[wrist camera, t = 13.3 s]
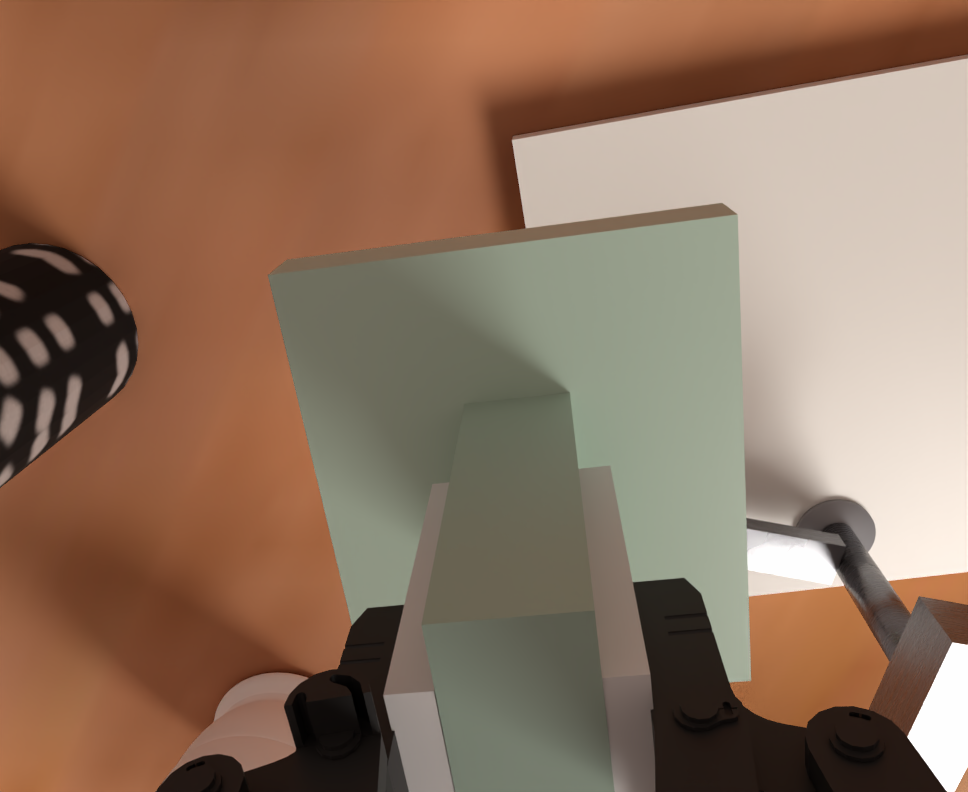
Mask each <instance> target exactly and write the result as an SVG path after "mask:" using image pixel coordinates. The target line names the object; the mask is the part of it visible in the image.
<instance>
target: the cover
mask: <svg viewBox="0 0 968 792" xmlns="http://www.w3.org/2000/svg"><path fill="white" fill-rule="evenodd" d="M268 277H269V282H270V286H271V290H272V294H273V298H274V302H275V307H276V311H277V315H278V319H279V323H280V327H281V332H282V336H283V340H284V344H285V348H286V352H287V357H288V361H289V365H290V369H291V373H292V377H293V382H294V386H295V390H296V394H297V398H298V402H299V406H300V411H301V415H302V419H303V423H304V427H305V431H306V436H307V440H308V444H309V448H310V452H311V456H312V461H313V465H314V469H315V473H316V477H317V481H318V486H319V490H320V494H321V498H322V502H323V506H324V511H325V515H326V519H327V523H328V527H329V531H330V535H331V540H332V544H333V548H334V552H335V556H336V560H337V565H338V569H339V573H340V577H341V581H342V585H343V590H344V594H345V598H346V602H347V606H348V610H349V615H350V619H351V623H352V625H353V624H354V622H355V621H356V620H357V619H358V618H359V617H360V616H361V615H362V613H363V612H364V611H365V610H366V609H367V608H373V607H384V606H395V605H404V604H405V600H406V595H407V591H408V587H409V582H410V578H411V574H412V570H413V565H414V561H415V557H416V552H417V548H418V544H419V540H420V535H421V531H422V527H423V522H424V518H425V514H426V510H427V505H428V501H429V497H430V492H431V488H432V484H438V483H447V482H449V486H448V491H447V496H446V501H445V506H444V512H443V517H442V522H441V527H440V532H439V537H438V542H437V547H436V553H435V558H434V563H433V568H432V573H431V578H430V583H429V588H428V594H427V599H426V604H425V609H424V614H423V619H422V624H421V625H422V630H423V635H424V640H425V645H426V650H427V655H428V660H429V665H430V670H431V675H432V680H433V685H434V689H435V694H436V699H437V704H438V709H439V714H440V719H441V724H442V729H443V734H444V739H445V744H446V748H447V753H448V758H449V763H450V768H451V773H452V778H453V783H454V788H455V792H615V791H614V782H613V773H612V764H611V755H610V746H609V736H608V727H607V718H606V709H605V700H604V691H603V682H602V673H601V664H600V655H599V646H598V637H597V627H596V618H595V609H594V601H593V592H592V583H591V574H590V565H589V557H588V548H587V539H586V530H585V521H584V513H583V504H582V495H581V486H580V478H579V469H581V468H591V467H601V466H610V467H611V472H612V477H613V482H614V488H615V493H616V498H617V503H618V508H619V514H620V519H621V524H622V529H623V534H624V540H625V545H626V550H627V555H628V561H629V566H630V571H631V576H632V581H633V582H641V581H652V580H664V579H675V578H685V579H686V580H687V581H688V582H689V583H690V584H692V585H693V586H694V587H695V588H696V589H697V590H698V591H699V592H700V593H701V595H702V598H703V601H704V604H705V608H706V611H707V616H708V617H709V620H710V623H711V627H712V632H713V633H714V636H715V639H716V642H717V646H718V649H719V652H720V655H721V658H722V661H723V665H724V668H725V671H726V674H727V677H728V680H729V682H740V681H751V664H750V629H749V594H748V558H747V523H746V488H745V453H744V417H743V382H742V347H741V312H740V277H739V241H738V214H737V213H735V212H734V211H733V210H731V209H730V208H729V207H727V206H726V205H725V204H723V203H716V204H709V205H701V206H693V207H686V208H678V209H670V210H663V211H655V212H648V213H640V214H632V215H625V216H617V217H609V218H602V219H594V220H586V221H579V222H571V223H563V224H556V225H548V226H541V227H533V228H525V229H518V230H510V231H502V232H495V233H487V234H479V235H472V236H464V237H456V238H449V239H441V240H433V241H426V242H418V243H411V244H403V245H395V246H388V247H380V248H372V249H365V250H357V251H349V252H342V253H334V254H326V255H319V256H311V257H304V258H296V259H288V260H286V261H285V262H283V263H282V264H281V265H280V266H278V267H277V268H276V269H275V270H274V271H272V272H271V273H270V274H269V275H268Z"/></svg>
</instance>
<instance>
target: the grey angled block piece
mask: <svg viewBox="0 0 968 792" xmlns="http://www.w3.org/2000/svg"><path fill="white" fill-rule="evenodd" d="M746 523H747V558H748V570H751V571H756V572H762V573H767V574H773V575H778V576H784V577H790V578H795V579H801V580H806V581H812V582H817V583H823V584H829V585H831V584H832V582H833V579H834V576H835V574H836V572H837V574H838V576H839V578H840V579H841V581H842V583H843V584H844V586H845V588H846V589H847V591H848V593H849V594H850V596H851V598H852V599H853V601H854V603H855V604H856V606H857V608H858V609H859V611H860V613H861V614H862V616H863V618H864V619H865V621H866V623H867V624H868V626H869V628H870V630H871V631H872V633H873V635H874V636H875V638H876V640H877V641H878V643H879V645H880V646H881V648H882V650H883V651H884V653H885V655H886V656H887V658H888V660H889V661H890V663H889V665H888V667H887V670H886V672H885V674H884V676H883V678H882V681H881V683H880V685H879V687H878V690H877V692H876V694H875V696H874V699H873V701H872V703H871V705H870V708H869V710H871V711H874V712H876V713H878V714H880V715H882V716H884V717H886V718H888V719H889V720H891V721H892V722H893V723H894V724H896V725H897V726H898V727H899V728H900V729H901V730H902V731H903V732H904V733H905V734H906V736H907V737H908V739H909V740H910V741H911V743H912V744H913V745H914V747H915V748H916V750H917V751H918V752H919V754H920V755H921V757H922V758H923V759H924V761H925V762H926V763H927V765H928V766H929V768H930V769H931V770H932V772H933V773H934V774H935V776H936V777H937V779H938V780H939V781H940V783H941V784H942V785H943V787H944V788H945V790H946V791H950V792H954V791H955V789H956V788H957V786H958V784H959V782H960V780H961V778H962V776H963V774H964V772H965V770H966V768H967V766H968V605H964V604H959V603H953V602H948V601H942V600H937V599H931V598H925V597H920V596H919V598H918V600H917V602H916V605H915V607H914V609H913V611H912V613H911V614H910V613H909V611H908V610H907V608H906V607H905V605H904V604H903V602H902V601H901V600H900V598H899V597H898V595H897V594H896V592H895V591H894V589H893V588H892V586H891V585H890V584H889V582H888V581H887V579H886V578H885V576H884V575H883V573H882V572H881V570H880V569H879V567H878V566H877V565H876V563H875V562H874V560H873V559H872V557H871V556H870V554H869V553H868V551H867V550H866V549H865V547H864V546H863V544H862V543H861V541H860V540H859V538H858V537H857V535H856V534H855V532H854V531H853V530H852V528H851V527H850V526H849V525H847V524H844V523H833V524H830V525H828V526H826V527H825V528H824V529H823V530H822V531H817V530H811V529H806V528H800V527H794V526H789V525H783V524H778V523H772V522H767V521H761V520H756V519H750V518H746Z"/></svg>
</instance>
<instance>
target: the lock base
mask: <svg viewBox="0 0 968 792" xmlns="http://www.w3.org/2000/svg"><path fill="white" fill-rule="evenodd" d="M512 144H513V150H514V157H515V163H516V169H517V176H518V182H519V188H520V195H521V201H522V207H523V214H524V220H525V226H526V228H533V227H541V226H548V225H556V224H563V223H571V222H579V221H586V220H594V219H602V218H609V217H617V216H625V215H632V214H640V213H648V212H655V211H663V210H670V209H678V208H686V207H693V206H701V205H709V204H716V203H723V204H725V205H726V206H727V207H729V208H730V209H731V210H733V211H734V212H735V213H737V214H738V241H739V277H740V312H741V347H742V382H743V417H744V453H745V488H746V518H750V519H756V520H761V521H767V522H772V523H778V524H783V525H789V526H794V527H800V528H806V529H811V530H817V531H822V530H823V529H824V528H825V527H826V526H828V525H830V524H833V523H844V524H847V525H849V526H850V527H851V528H852V530H853V531H854V532H855V534H856V535H857V537H858V538H859V540H860V541H861V543H862V544H863V546H864V547H865V549H866V550H867V551H868V553H869V554H870V556H871V557H872V559H873V560H874V562H875V563H876V565H877V566H878V567H879V569H880V570H881V572H882V573H883V575H884V576H885V578H886V579H887V581H890V580H899V579H908V578H917V577H926V576H935V575H944V574H953V573H962V572H968V54H967V55H962V56H956V57H951V58H945V59H939V60H934V61H928V62H923V63H917V64H912V65H906V66H900V67H895V68H889V69H884V70H878V71H873V72H867V73H861V74H856V75H850V76H845V77H839V78H834V79H828V80H823V81H817V82H811V83H806V84H800V85H795V86H789V87H784V88H778V89H772V90H767V91H761V92H756V93H750V94H745V95H739V96H733V97H728V98H722V99H717V100H711V101H706V102H700V103H694V104H689V105H683V106H678V107H672V108H667V109H661V110H655V111H650V112H644V113H639V114H633V115H628V116H622V117H617V118H611V119H605V120H600V121H594V122H589V123H583V124H578V125H572V126H566V127H561V128H555V129H550V130H544V131H539V132H533V133H527V134H522V135H516V136H513V138H512ZM837 586H844V584H843V583H842V581H841V579H840V578H839V576H838V574H837V572H836V574H835V576H834V579H833V582H832V584H831V585H829V584H823V583H817V582H812V581H806V580H801V579H795V578H790V577H784V576H778V575H773V574H767V573H762V572H756V571H751V570H748V594H749V596H756V595H765V594H774V593H783V592H792V591H801V590H810V589H819V588H828V587H837Z"/></svg>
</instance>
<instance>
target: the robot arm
mask: <svg viewBox="0 0 968 792" xmlns="http://www.w3.org/2000/svg"><path fill="white" fill-rule="evenodd" d="M579 478H580V486H581V495H582V504H583V513H584V521H585V530H586V539H587V548H588V557H589V565H590V574H591V583H592V592H593V601H594V609H595V618H596V627H597V637H598V646H599V655H600V664H601V673H602V682H603V691H604V700H605V709H606V718H607V727H608V736H609V746H610V755H611V764H612V773H613V782H614V791H615V792H947V791H946V790H945V788H944V787H943V785H942V784H941V783H940V781H939V780H938V779H937V777H936V776H935V774H934V773H933V772H932V770H931V769H930V768H929V766H928V765H927V763H926V762H925V761H924V759H923V758H922V757H921V755H920V754H919V752H918V751H917V750H916V748H915V747H914V745H913V744H912V743H911V741H910V740H909V739H908V737H907V736H906V734H905V733H904V732H903V731H902V730H901V729H900V728H899V727H898V726H897V725H896V724H894V723H893V722H892V721H891V720H889V719H888V718H886V717H884V716H882V715H880V714H878V713H876V712H874V711H871V710H867V709H862V708H858V707H854V706H849V707H832V708H829V709H827V710H824V711H821V712H818V713H817V714H816V715H815V716H814V717H813V718H812V719H811V720H810V721H809V722H808V725H807V728H804V727H798V726H792V725H787V724H781V723H778V722H774V721H770V720H767V719H765V718H762V717H760V716H758V715H756V714H754V713H752V712H751V711H750V710H748V709H747V708H745V707H744V706H743V705H742V702H740V701H739V700H738V699H737V698H736V697H735V695H734V693H733V691H732V689H731V687H730V684H729V680H728V677H727V674H726V671H725V668H724V665H723V661H722V658H721V655H720V652H719V649H718V646H717V642H716V639H715V636H714V633H713V632H712V627H711V623H710V620H709V617H708V616H707V611H706V608H705V604H704V601H703V598H702V595H701V593H700V592H699V591H698V590H697V589H696V588H695V587H694V586H693V585H692V584H690V583H689V582H688V581H687V580H686V579H685V578H675V579H664V580H652V581H641V582H633V581H632V576H631V571H630V566H629V561H628V555H627V550H626V545H625V540H624V534H623V529H622V524H621V519H620V514H619V508H618V503H617V498H616V493H615V488H614V482H613V477H612V472H611V467H610V466H601V467H591V468H581V469H579ZM448 486H449V482H447V483H438V484H432V488H431V492H430V497H429V501H428V505H427V510H426V514H425V518H424V522H423V527H422V531H421V535H420V540H419V544H418V548H417V552H416V557H415V561H414V565H413V570H412V574H411V578H410V582H409V587H408V591H407V595H406V600H405V604H404V605H395V606H384V607H373V608H367V609H366V610H365V611H364V612H363V613H362V615H361V616H360V617H359V618H358V619H357V620H356V621H355V622H354V624H353V625H352V626H351V629H350V632H349V635H348V638H347V641H346V644H345V649H344V651H343V654H342V657H341V660H340V665H339V666H338V669H334V670H329V671H325V672H322V673H318V674H315V675H313V676H312V677H310V678H308V679H306V680H305V681H303V682H301V683H300V684H299V685H298V686H297V687H296V688H295V689H294V690H293V691H292V692H291V693H290V694H289V696H288V698H287V700H286V702H285V704H284V709H285V713H286V716H287V719H288V723H289V726H290V730H291V733H292V736H293V740H294V743H295V746H296V751H295V752H294V753H292V754H290V755H289V756H287V757H285V758H283V759H280V760H278V761H275V762H273V763H270V764H267V765H264V766H261V767H258V768H255V769H252V770H249V771H246V772H244V771H243V768H242V765H241V764H240V763H239V762H238V761H237V760H236V759H235V758H233V757H231V756H227V755H222V754H214V755H207V756H202V757H199V758H197V759H194V760H192V761H189V762H187V763H185V764H184V765H182V766H181V767H179V768H178V769H177V770H175V771H174V772H172V773H171V774H170V775H169V776H168V777H167V778H166V779H165V781H164V782H163V783H162V784H161V785H160V786H159V788H158V789H157V791H156V792H455V788H454V783H453V778H452V773H451V768H450V763H449V758H448V753H447V748H446V744H445V739H444V734H443V729H442V724H441V719H440V714H439V709H438V704H437V699H436V694H435V689H434V685H433V680H432V675H431V670H430V665H429V660H428V655H427V650H426V645H425V640H424V635H423V630H422V625H421V624H422V619H423V614H424V609H425V604H426V599H427V594H428V588H429V583H430V578H431V573H432V568H433V563H434V558H435V553H436V547H437V542H438V537H439V532H440V527H441V522H442V517H443V512H444V506H445V501H446V496H447V491H448Z"/></svg>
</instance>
